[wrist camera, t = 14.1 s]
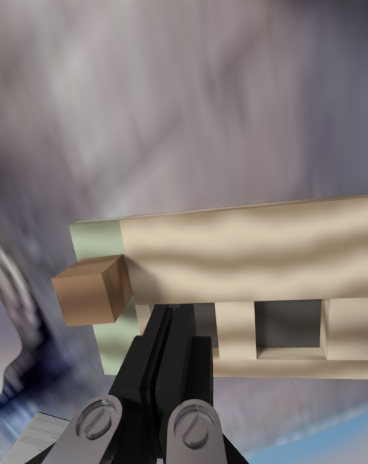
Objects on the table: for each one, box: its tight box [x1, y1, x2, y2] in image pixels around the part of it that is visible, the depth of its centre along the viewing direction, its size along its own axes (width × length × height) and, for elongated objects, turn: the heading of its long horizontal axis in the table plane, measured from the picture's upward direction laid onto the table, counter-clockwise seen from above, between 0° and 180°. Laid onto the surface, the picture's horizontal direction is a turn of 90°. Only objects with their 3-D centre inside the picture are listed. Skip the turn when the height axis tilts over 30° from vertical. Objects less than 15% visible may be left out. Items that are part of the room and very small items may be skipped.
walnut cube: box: [51, 254, 133, 326], centre depth 28 cm, size 6×6×6 cm
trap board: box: [69, 194, 368, 379], centre depth 31 cm, size 24×38×2 cm, turn 97°
